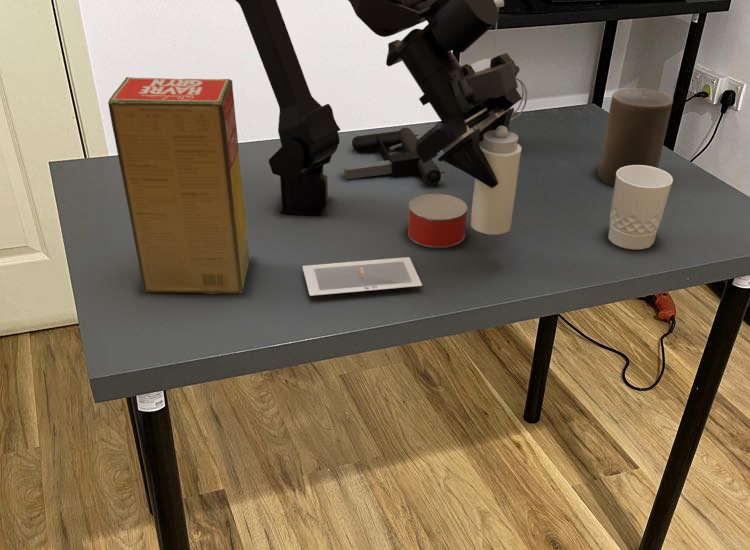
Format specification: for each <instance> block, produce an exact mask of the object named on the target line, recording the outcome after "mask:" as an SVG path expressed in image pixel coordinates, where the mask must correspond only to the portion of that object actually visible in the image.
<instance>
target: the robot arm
mask: <svg viewBox="0 0 750 550" xmlns="http://www.w3.org/2000/svg"><path fill="white" fill-rule="evenodd" d="M347 1H348V2H349V3H350V5H351V7H352V9H353V11H354V14H355V15H356V17H357V18H358V19H359V20H360V21H361V22H362V23H363V24H364V25H365V26H367V28H368V29H369V30H370V31H371V32H373V33H374V34H375V35H377V36H379V37H382V38H386V37H391V36H393V35H396V34H399V33H401V32H403V31H406V30H408V29H410V28H413V27H415V26H417V25H420V24H423V23H424V22H427V23H428V24H426V25H425V26H424V27H423V28H413V29H411V30H410V31H409V32H408V33H407V34H406V35H405V36H404V37H403V38H402V39H401V40H400V39H395V40H393V41H391V42H388V44H387V48H388V51H387V55H386V59H385V60H386V61H385V65H386V66H387V67H392V66H394V65H396V64H398V63H400V62H402V63H403V64H404V66H405V67H406V69H407V71H408V72H409V74H410V75H411V76H412V78H413V80H414V81H415V83H416V84H417V86H418V87H419V90H420V91H421V93H423V95H421V96H420V97H419V98H418V100H419V101H420V103H421V104H422V106H426V105H427V104H430V106H431V107H432V109H433V110H434V112H435V114H436V115H437V117H438V118H439V119H440V121H439V122H438V123H436V124H435V125H434V126H432V127H431V128H430V129H429V130H428V131H427V132H425V133H424V134H423V135H422V136H420V137H419V138H417V139H418V140H417V141H416V150H415V152H416V153H417V155H418V156H419V158H420V159H421V161H422V162H423V164H424V163H426V162H428V161H429V160H431V159H432V160H433V159H434V158H435V157H437V156H438V154H439V153H440V152H441V151H442V152H443V153H442V154H441V156H439V157H438V158H437V160H438V162H439V163H441V162H444V163H447V164H448V165H451V166H452V167H454V168H456V169H459V170H460V171H461V172H464V173H466V174H467V175H469V176H471V178H473V179H475V178H476V179H477V180H479V181H481V182H482V183H484V184H485V185H487V186H489V187H490V188H493V187H495V186H496V185H498V181H497V179H496V176H495V174H494V172H493V170H492V168H491V167H490V165H489V163H488V161H487V159H486V157H485V155H484V154H483V152H482V150H481V148H480V146H479V143H480V142H481V141H483V138H484V134H485V133H486V132H488V131H491V130H496V128H497V127H498V126H505V127H506V128H507V130H508V131H510V125H509V123H511V121H510V119H512V116H513V115H512V113H513V112H514V111H515V107H514V105H516V104H517V103H519V102H521V99H522V95H521V94H520V93H519V91H518V90H517V89H518V88H519V86H518V82H517V81H518V80H516V77H517V75H518V74H519V73H520V67H519V66H518V65H517V64H516V62H515V60H514V59H512V58H511V56H510V55H509V54H508V53H507V52H505V53H502V54H498V55H496V56H494V58H493V57H492V58H490V59H491V63H490V68H486V69H484V70H482V71H478V72H475V71H474V70H473V68H472V66H471V65H472V64H468V63H465V64H463V65H461V64H460V62H459V61H458V60H457V58H456V56H455V55H454V53H453V52H455V53H458V54H461V53H464V52H466V51H467V50H468V49H469V48H470V47H471V46H472V45H473V44H475V43H476V42H477V41H478V40H479V39H480V38H482V36H484V34H486V33H487V32H488V31H489V30H490V29H492V27H494V26H496V23H497V24H498V21H499V16H500V15H499V11H498V7H497V6H496V4H495V2H494V0H347ZM235 2H236V3H237V4H238V5H239V7H240V9H241V11H242V14H243V17H244V20H245V22H246V24H247V28H248V29H249V32H250V34H251V38H252V40H253V42H254V46H255V47H256V50H257V52H258V53H257V54H258V56H259V58H260V61H261V63H262V66H263V68H264V71H265V74H266V76H267V79H268V82H269V84H270V87H271V90H272V91H273V92H272V93H273V95H274V97H275V100H276V102H277V105H278V108H279V109H278V110H279V113H278V115H279V116H278V125H277V127H278V128H277V133H278V137H279V140H280V144H281V147H280V148H278V150H277V151H275V153H274V154H272V156H271V157H270V158H268V165H269V167H270V170H271V173H272V174H273V175H276V176H279V181H280V197H281V205H280V208H279V213H280V214H284V215H285V214H288V215H305V216H307V215H308V216H322V214H323V212H324V208H326V206H327V204H328V200H329V191H328V190H329V189H328V187H329V186H328V176H327V175H326V174H324V166H325V165H327V164H329V163H331V160H332V157H333V155H334V154H336V152H337V150H338V147H339V145H340V136H339V131H341V128H340V126H339V125H338V124H337V122H336V121H337V120H336V119H335V116H334V115H335V114H334V111H333V108H332V106H331V104H329V103H326V104H323V105H321V103H319V102H318V101H317V100H316V99H315V98H314V97H313V96H312V93H311V91H310V88H309V86H308V82H307V80H306V77H305V74H304V72H303V69H302V66H301V63H300V60H299V58H298V55H297V53H296V50H295V48H294V45H293V42H292V39H291V36H290V34H289V32H288V31H289V30H288V28H287V25H286V22H285V20H284V17H283V15H282V11H281V9H280V6H279V4H278V2H277V0H235ZM509 108H511V109H510V110H508V109H509ZM507 110H508V111H507ZM505 111H507V112H505ZM474 126H476V127H477V128H478V129H477V130H476V131H474V132H471V130H470V129H471V128H473V129H474V128H475V127H474ZM510 132H511V131H510Z"/></svg>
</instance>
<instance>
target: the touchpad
mask: <svg viewBox="0 0 750 550" xmlns="http://www.w3.org/2000/svg"><path fill="white" fill-rule="evenodd" d="M301 267H302V271H303V275H304V279H305V282H306V283H305V284H306V287H307V290H308V294H309V297H312V296H323V295H333V294H334V295H335V294H336V295H337V294H346V293H358V292H367V291H379V290H380V291H381V290H390V289H400V288H401V289H402V288H412V287H422V286H423V282H422V281H421V279H420V277H419V275H418V273H417V270H416V268H415V266H414V264H413V261H412V260H411V258H410V256H407V257H406V256H405V257H394V258H381V259H369V260H358V261H357V260H356V261H345V262H344V261H343V262H333V263H320V264H309V265H302V266H301Z"/></svg>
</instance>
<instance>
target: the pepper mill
mask: <svg viewBox="0 0 750 550" xmlns="http://www.w3.org/2000/svg"><path fill="white" fill-rule="evenodd" d="M479 146H480V148H481V150H482V152H483V154H484V155H485V157H486V159H487V161H488V163H489V165H490V167H491V168H492V170H493V172H494V174H495V176H496V179H497V181H498V185H496V186H495V187H493V188H490V187H489V186H487V185H485V184H484V183H482V182H481V181H479V180H477V179H476V178H474V182H473V191H472V202H471V203H472V204H471V215H470V227H471V228H472V229H473V230H474V231H476V232H478V233H481V234H483V235H484V234H485V235H491V236H492V235H493V236H494V235H503V234H505V233H508V232H510V231H511V229H512V225H513V218H514V210H515V203H516V195H517V189H518V188H517V187H518V181H519V173H520V165H521V157H522V150H523V149H522V148H523V147H522V146H521V145H520V144H519V136H518V134H516V133H515V132H512V131H508V130H507V128H506V127H505V126H498V127H497V128H496V130H491V131H488V132H486V133H485V134H484V138H483V141H481V142H480V143H479Z"/></svg>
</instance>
